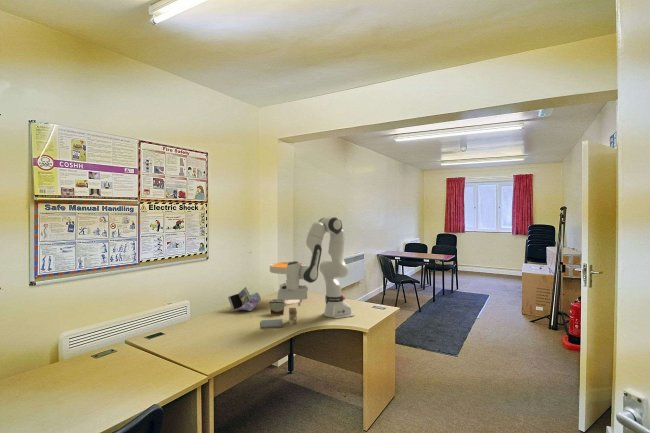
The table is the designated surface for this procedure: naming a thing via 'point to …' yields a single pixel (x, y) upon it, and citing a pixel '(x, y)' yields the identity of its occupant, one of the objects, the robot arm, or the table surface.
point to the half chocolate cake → (276, 307)
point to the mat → (271, 323)
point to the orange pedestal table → (281, 269)
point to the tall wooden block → (292, 316)
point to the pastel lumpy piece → (244, 300)
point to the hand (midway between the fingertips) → (292, 306)
